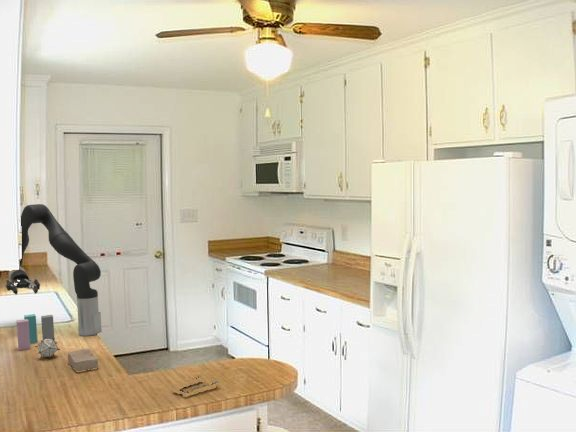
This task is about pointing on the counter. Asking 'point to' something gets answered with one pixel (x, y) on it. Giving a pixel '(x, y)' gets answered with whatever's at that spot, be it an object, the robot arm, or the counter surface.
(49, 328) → the charcoal block
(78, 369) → the brick
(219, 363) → the counter surface
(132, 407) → the counter surface
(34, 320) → the teal block
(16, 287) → the robot arm
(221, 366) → the counter surface
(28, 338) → the plum block
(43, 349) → the game die
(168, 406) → the counter surface
